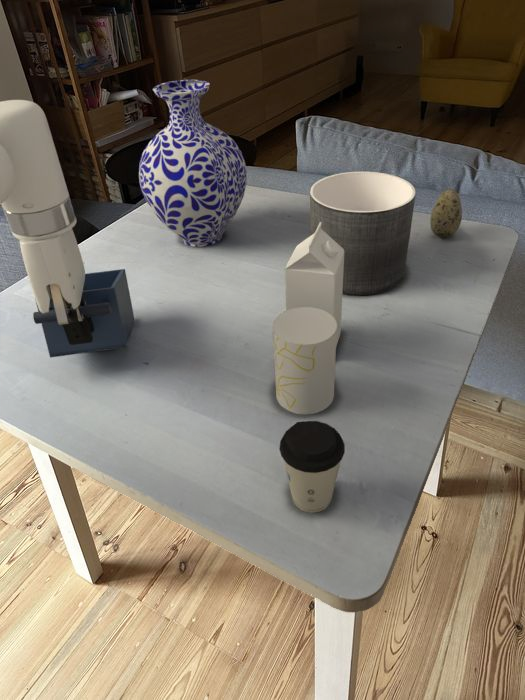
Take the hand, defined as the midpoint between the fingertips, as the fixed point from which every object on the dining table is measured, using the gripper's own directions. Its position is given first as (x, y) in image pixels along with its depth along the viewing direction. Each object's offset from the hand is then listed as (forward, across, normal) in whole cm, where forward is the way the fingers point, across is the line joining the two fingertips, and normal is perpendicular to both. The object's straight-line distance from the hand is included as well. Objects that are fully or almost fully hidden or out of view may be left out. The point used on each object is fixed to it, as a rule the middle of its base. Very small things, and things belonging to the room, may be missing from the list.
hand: (82, 336), depth 75 cm
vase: (+9, -44, +19) cm, 48 cm away
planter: (+9, -22, +47) cm, 52 cm away
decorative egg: (+9, -30, +68) cm, 75 cm away
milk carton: (+9, -2, +34) cm, 35 cm away
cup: (+9, +10, +30) cm, 32 cm away
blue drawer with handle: (+5, -6, 0) cm, 8 cm away
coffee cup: (+8, +26, +27) cm, 39 cm away
